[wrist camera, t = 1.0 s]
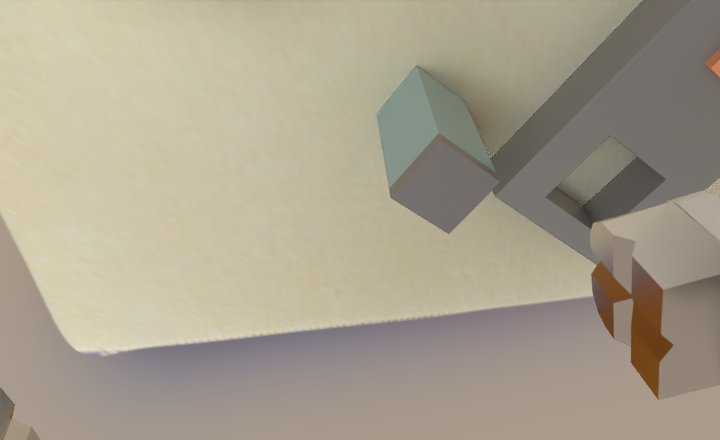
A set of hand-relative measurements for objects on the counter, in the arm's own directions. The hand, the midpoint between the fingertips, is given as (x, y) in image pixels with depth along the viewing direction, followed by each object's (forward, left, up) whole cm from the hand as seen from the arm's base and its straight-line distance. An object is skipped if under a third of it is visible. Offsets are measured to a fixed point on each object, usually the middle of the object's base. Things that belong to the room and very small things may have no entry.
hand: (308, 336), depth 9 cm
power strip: (-3, +26, -35) cm, 44 cm away
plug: (+6, +13, -35) cm, 38 cm away
